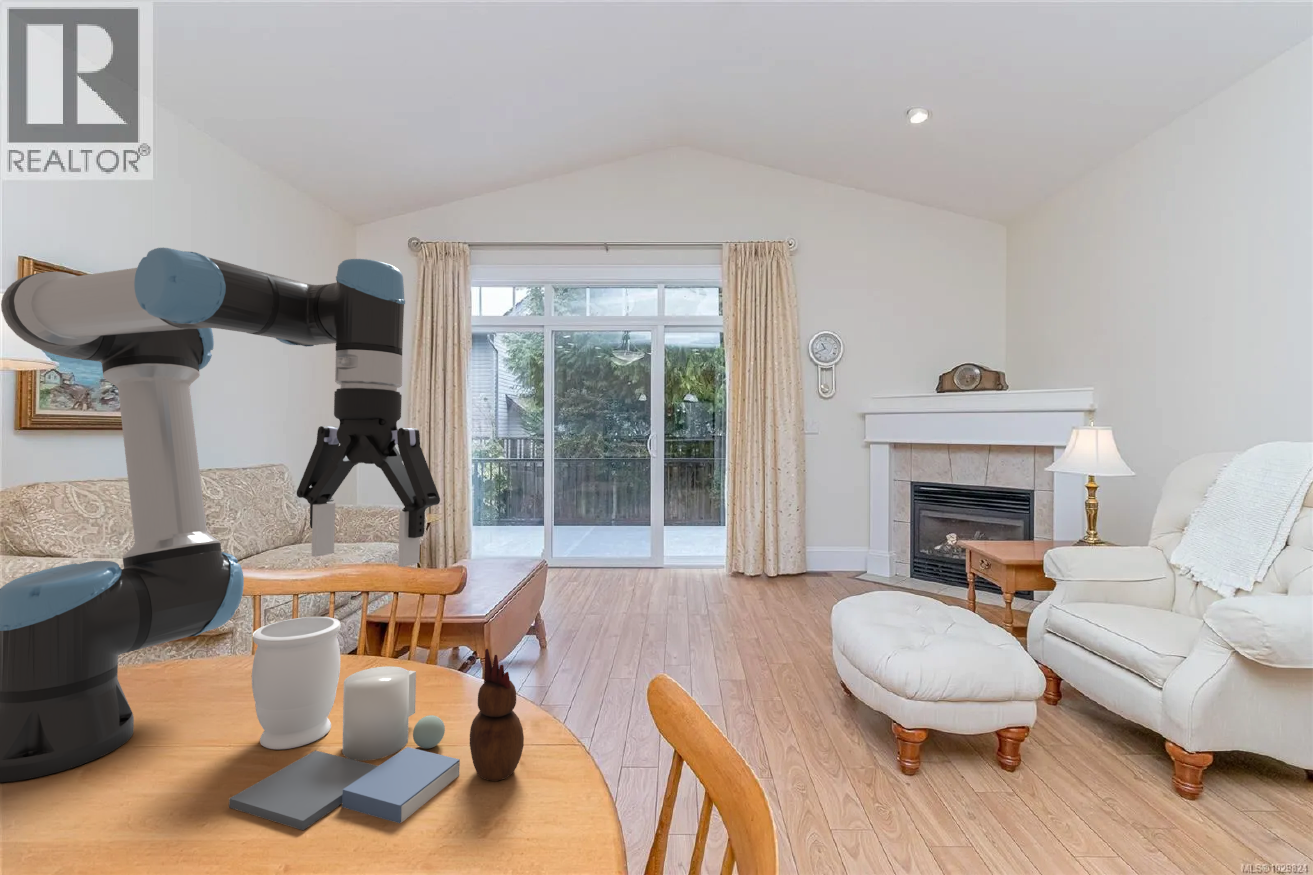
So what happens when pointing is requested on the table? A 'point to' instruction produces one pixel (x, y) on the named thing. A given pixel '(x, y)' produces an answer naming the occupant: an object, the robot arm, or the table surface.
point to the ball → (428, 731)
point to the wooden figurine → (496, 725)
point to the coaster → (301, 790)
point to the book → (401, 784)
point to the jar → (295, 679)
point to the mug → (377, 711)
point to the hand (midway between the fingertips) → (364, 559)
